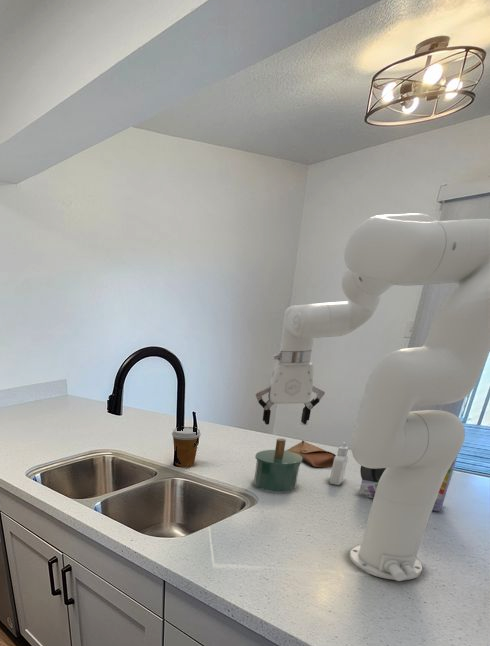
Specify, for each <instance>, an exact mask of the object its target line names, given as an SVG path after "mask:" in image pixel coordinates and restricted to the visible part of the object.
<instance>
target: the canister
mask: <svg viewBox="0 0 490 646" xmlns="http://www.w3.org/2000/svg"><path fill="white" fill-rule="evenodd" d="M300 466H301V463H299V464H296V465H290V466H278V465H270V464H266V463H262V462H260V461H258V460H257V459H256V464H255V471H254V479H253V485H254V487H255V488H256V489H262V490H264V491H270V492H282V493H283V492H288V491H292V490H295V489H296V486H297V481H298V476H299V470H300Z"/></svg>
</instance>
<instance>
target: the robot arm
mask: <svg viewBox="0 0 490 646" xmlns="http://www.w3.org/2000/svg"><path fill="white" fill-rule="evenodd" d="M343 255H344V258H343V259H344V263H345V266H346V269H345V271H344V272H343V274H342V278H341V289H342V292H343V294H344V295H345V297H346V298H347V299H348V300H345V301H331V302H329V301H328V302H320V303H319V302H318V303H317V302H316V303H308V304H298V305H297V304H296V305H291V306H289V307H287V308H286V309H285V311H284V315H283V316H284V317H283V324H282V330H281V331H282V332H281V340H280V346H279V347H280V348H279V351H278V352H277V353H273V355H272V359H273V360H276V361H277V362H276V363H275V365H274V367H273V371H272V375H271V378H270V384H269V386H267V387H265V388H263V389H261V390H258V391H256V392H255V394H254V395H255V398H256V401H257V403H258V404H259V405H260V406H261V407H262V408H263V414H262V422H264V424H265V425H266V426H268V425H270V420H271V411H272V409H271V407H273V406H274V405H275V404H276V405H277V404H279V405H280V404H282V405H285V404H288V405H289V404H303V405H304V407H303V408H302V412H301V419H300V422H301V423H302V424H303V425H307V424H308V421H309V420H310V417H311V412H312V410H313V409H314V407H316V405H318V404H319V403H320V401H321V400H322V399H323V397H324V396H325V394H326V393H325V391H324V390H322V389H320V388H318V387H316V386H314V362H311V358H312V351H313V344H314V339H320V338H336V337H337V338H338V337H343V336H346V335H349V334H351V333H353V332H355V331H356V330H357V329H358V328H360V327H361V326H364V325H365V324H366V323H367V322H368V321H369V320H370V319H371V318H372V317H373V316H374V314H375V312H376V310H377V308H378V306H379V304H380V300H381V295H383V294H384V293H385V292H387V291H388V290H389V289H391V287H393V286H401V287H413V286H426V285H440V284H457V285H458V287H457V288H456V289H455V290H454V291H453V292H452V293H451V294H450V295H449V296H448V297H447V298H446V299H445V300H444V302H443V303H442V305H441V306H440V307H439V309H438V310H437V311H436V313H435V315H434V317H433V319H432V322H431V325H430V328H429V332H428V334H427V336H426V338H425V341H424V343H423V344H422V346H418V347H407V348H400V349H397V350H394V351H391V352H389V353H387V354H385V355H384V356H383V357H382V358H381V359H380V360H379V361H378V362H377V363H376V364H375V365H374V367H373V368H372V370H371V372H370V374H369V375H368V378H367V381H366V385H365V387H364V391H363V394H362V399H361V402H360V404H359V405H360V406H359V410H358V413H357V416H356V420H355V424H354V427H353V429H352V435H351V442H350V443H351V445H350V446H351V447H350V448H351V453H352V457H353V458H354V460H355V461H356V463H357V464H358V465H360V467H361V466H363V467H366V468H373V469H378V468H386V469H385V471H384V472H383V474H382V476H381V478H380V480H379V482H378V485H377V489H376V492H375V496H374V499H373V498H372V504H371V507H370V510H369V514H368V518H367V520H366V521H367V522H366V525H365V529H364V533H363V536H362V540H361V544H359V545H356V546H354V547H353V548H352V549H350V551H349V559H350V561H351V562H352V563H353V564H354V565H355V566H356V567H358V568H359V569H361V570H363V571H364V572H365V573H367V574H369V575H371V576H374V577H377V578H381V579H384V580H385V579H386V580H391V581H397V582H402V581H407V580H412V579H416V578H418V577H419V576H420V574H421V573H422V571H423V564H422V563H421V561H420V560H419V559H418V558H417V556H418V553H419V550H420V547H421V544H422V541H423V538H424V535H425V532H426V529H427V526H428V524H429V520H430V517H431V516H432V513H433V510H432V509H433V507H434V504H435V501H436V499H437V496H438V493H439V490H440V487H441V485H442V482H443V480H444V478H445V476H446V474H447V472H448V470H449V468H450V466H451V465H452V463H453V462H454V460H455V458H456V457H457V458H458V456H457V455H459V453H460V451H462V450H461V449H462V448H463V445H464V442H465V439H466V438H465V437H466V429H465V425H464V423H463V422H462V419H460V418H459V416H457V415H456V414H454V413H452V412H449V411H445V410H440V409H425V410H414V411H412V409H413V408H420V407H430V406H431V407H432V406H442V405H448V404H453V403H458V402H460V401H463V399H465V398H467V397H468V396H469V395H470V394H471V392H472V391H473V390H474V388H475V386H476V384H477V383H478V380H479V378H480V375H481V373H482V370H483V369H484V366H485V363H486V361H487V359H488V356H489V353H490V218H465V219H464V218H463V219H455V220H454V219H453V220H452V219H451V220H437V219H436V218H435V217H434V216H432V215H429V214H425V213H417V212H416V213H415V212H414V213H396V214H395V213H394V214H378V215H374V216H371V217H369V218H367V219H365V220H363V222H361V223H360V224H359V225H358V226H356V228H355V229H354V230H353V231H352V233H351V235H350V236H349V238H348V239H347V243H346V244H345V248H344V253H343ZM313 393H315V394H316V395H315V397H314V398H312V395H313ZM266 394H267V395H268V399H267V400H266V401H264V399H263V396H265V395H266Z"/></svg>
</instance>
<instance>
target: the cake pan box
mask: <svg viewBox="0 0 490 646" xmlns="http://www.w3.org/2000/svg"><path fill="white" fill-rule="evenodd" d="M458 455H459V454H458ZM458 455H457V457H456V458H455V460H454V462H453V463H452V465H451V466H450V468H449V470H448V472H447V474H446V476H445V478H444V480H443V482H442V485H441V487H440V490H439V493H438V496H437V499H436V501H435V504H434V507H433V509H432V511H435V512H440V511H441V509H442V507H443V505H444V501H445V498H446V495H447V492H448V489H449V485H450V482H451V480H452V476H453V472H454V469H455V467H456V463H457V458H458ZM385 469H386V468H378V469H373V468H366V467H363V466H361V465H360V477H361V484H360V489H359V491H358V494H359V495H362V496H366V497H367V498H369V499H372V500H373V499H374V496H375V492H376V489H377V485H378V482H379V480H380V478H381V476H382V474H383V472H384V471H385Z"/></svg>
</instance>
